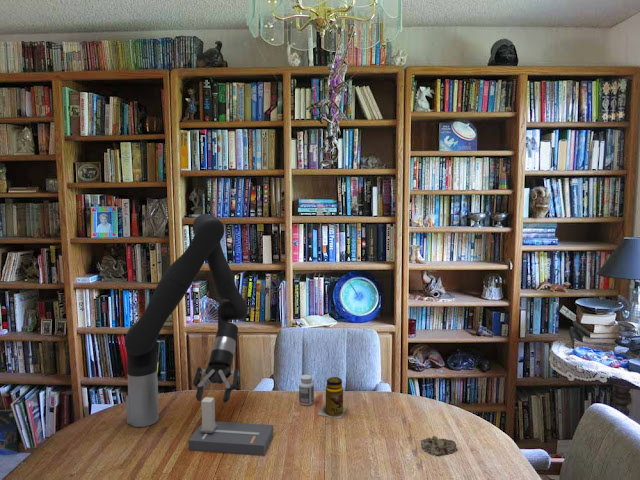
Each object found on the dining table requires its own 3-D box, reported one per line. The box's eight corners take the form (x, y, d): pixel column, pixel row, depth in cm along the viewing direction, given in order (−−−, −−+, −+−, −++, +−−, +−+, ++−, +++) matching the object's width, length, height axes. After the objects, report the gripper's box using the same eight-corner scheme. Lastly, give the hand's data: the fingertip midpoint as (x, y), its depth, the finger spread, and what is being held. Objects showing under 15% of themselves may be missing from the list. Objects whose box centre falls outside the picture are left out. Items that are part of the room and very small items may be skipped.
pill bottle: (307, 397, 173) (307, 372, 172) (316, 402, 169) (316, 377, 168) (296, 402, 170) (295, 376, 168) (305, 407, 165) (304, 381, 164)
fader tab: (200, 432, 142) (199, 402, 141) (204, 425, 146) (204, 396, 145) (212, 433, 141) (211, 403, 140) (217, 426, 145) (216, 397, 144)
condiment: (341, 418, 157) (341, 384, 156) (317, 415, 160) (317, 381, 158) (346, 409, 164) (346, 376, 163) (323, 405, 167) (323, 373, 165)
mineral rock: (423, 450, 134) (419, 429, 142) (421, 461, 136) (418, 440, 144) (460, 452, 134) (454, 431, 141) (458, 463, 136) (453, 442, 143)
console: (188, 449, 138) (188, 439, 138) (203, 429, 150) (203, 420, 150) (264, 455, 136) (263, 445, 135) (273, 434, 147) (273, 424, 147)
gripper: (199, 347, 154) (186, 395, 143) (240, 348, 152) (230, 398, 142) (205, 357, 159) (193, 404, 149) (245, 358, 158) (236, 406, 148)
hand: (211, 401), depth 146 cm, fingers open, 8 cm apart
